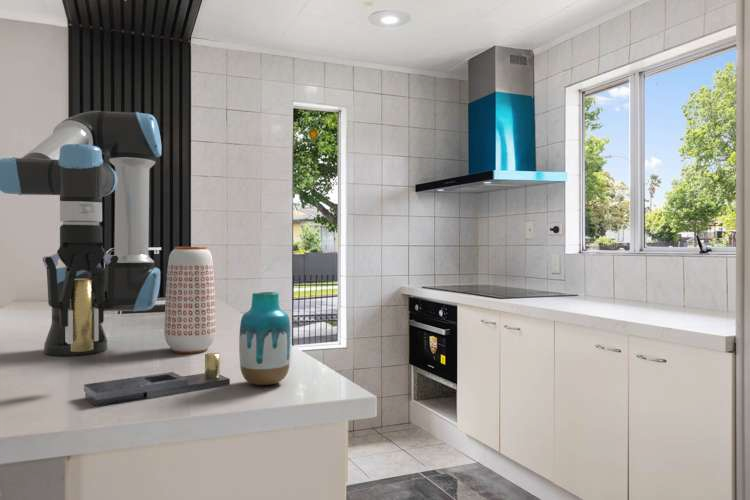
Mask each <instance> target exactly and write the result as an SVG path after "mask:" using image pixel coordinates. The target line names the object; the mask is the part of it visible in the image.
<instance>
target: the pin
mask: <svg viewBox="0 0 750 500" xmlns="http://www.w3.org/2000/svg"><path fill="white" fill-rule="evenodd" d="M70 300H71V310H73V344H71V351H74V352H83V351H90V350H93V282H92V279H75V280H74V285H73V290H72V294H71V299H70Z"/></svg>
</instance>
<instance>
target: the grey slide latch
mask: <svg viewBox="0 0 750 500" xmlns="http://www.w3.org/2000/svg"><path fill="white" fill-rule="evenodd" d="M220 355H221V354H220V353H219V352H208V353H205V354H204V373H197V374H189V375H183V376H182V375H180V374H179V373H176V372H174V371H170V372H162V373H156V374H149V375H143V376H142V375H141V376H135V377H129V378H119V379H113V380H107V381H100V382H93V383H86V384H83V391H84V393H85V395H84V397H85V400H86V401H88V402H89V403H90V404H92V405H93V406H95V407H96V406H100V405H101V406H102V405H108V404H113V403H120V402H125V401H126V402H127V401H130V400H131V401H132V400H137V399H144V398H145V399H152V398H153V399H154V398H159V397H163V396H170V395H175V394H176V395H177V394H182V393H189V392H195V391H200V390H206V389H212V388H218V387H224V386H229V385H231V384H230V383H231V379H230V378H229V377H226V376H224V375H222V374H221V373H220V369H221V361H220V360H221V359H220V358H221V356H220Z"/></svg>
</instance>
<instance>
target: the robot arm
mask: <svg viewBox="0 0 750 500" xmlns="http://www.w3.org/2000/svg"><path fill="white" fill-rule="evenodd" d="M52 131H53V132H52V134H51V135H49V136H47V138H45V139H44V140H43V141H42V142H39V144H38V145H36V146H35V147H34V148H32V149H31V150H30V151H28V153H26V154H24V155H23V156H22V157H15V156H14V157H4V158H3V157H2V158H0V192H1V193H3V194H7V195H8V194H9V195H19V196H22V195H24V196H25V195H26V196H27V195H28V196H59V221H60V222H62V224H61V225H60V226H59V247H58V249H57V252H56V253H55V254H52V255H49V256H43V257H42V262H43V264H44V266H45V268H46V281H47V284H46V285H47V301H48V303H47V304H48V306H50V307H51V325H50V328H49V331H48V333H47V336H46V338H45V342H44V345H43V353H44V354H45V355H47V356H49V355H50V356H59V357H60V356H81V355H82V356H84V355H89V354H96V353H101V352H104V351H106V350H108V339H107V336H106V333H105V330H104V327H103V323H104V318H105V316H104V315H105V314H104V312H139V311H141V312H143V311H149V310H152V309H153V308H154V307H155V305H156V303H157V300H158V296H159V292H160V287H161V269H160V268H158V267H155V260H153V259H152V258H151V257H150V255H149V238H150V237H149V233H150V231H149V229H150V228H149V226H150V224H149V223H150V220H149V219H150V218H149V217H150V214H149V213H150V211H149V210H150V169H151V168H153V166H154V165H156V158H159V157H161V156H162V140H161V134H160V129H159V125H158V121H157V119H156V117H155V116H154V115H153V114H150V113H145V112H144V113H143V112H139V111H135V112H132V111H131V112H130V111H107V110H106V111H104V110H103V111H102V110H90V111H85V112H81V113H78V114H75V115H73V116H70V117H67V118H65V119H63V120H62V121H61V122H59V123H58V124H56V126H55V127H54V129H53V130H52ZM103 155H107V156H109V158H108V159H109V160H108V161H109V162H110V163H111V164H112V165H113V166H114V169H115V170H114V169H113V168H112V167H111V166H110V165H109V164H107V163H106V162H104V159H103ZM113 192H114V254H113V255H112V254H110V253H107V252H106V250H105V249H104V247H103V226H102V225H100V223H102V222H103V197H106V196H109V195H111V194H112V193H113ZM59 260H60V261H61V262H62V263H63V264H64V266H62V267H58V265H59ZM102 260H103V263H104V264H105V267H104V268H103V267H102V265H101V263H100V262H101V261H102ZM56 266H57V267H58V268H57V267H56ZM75 279H92V282H93V350H90V351H83V352H74V351H71V344H73V310H71V300H70V299H71V294H72V290H73V285H74V280H75Z"/></svg>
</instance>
